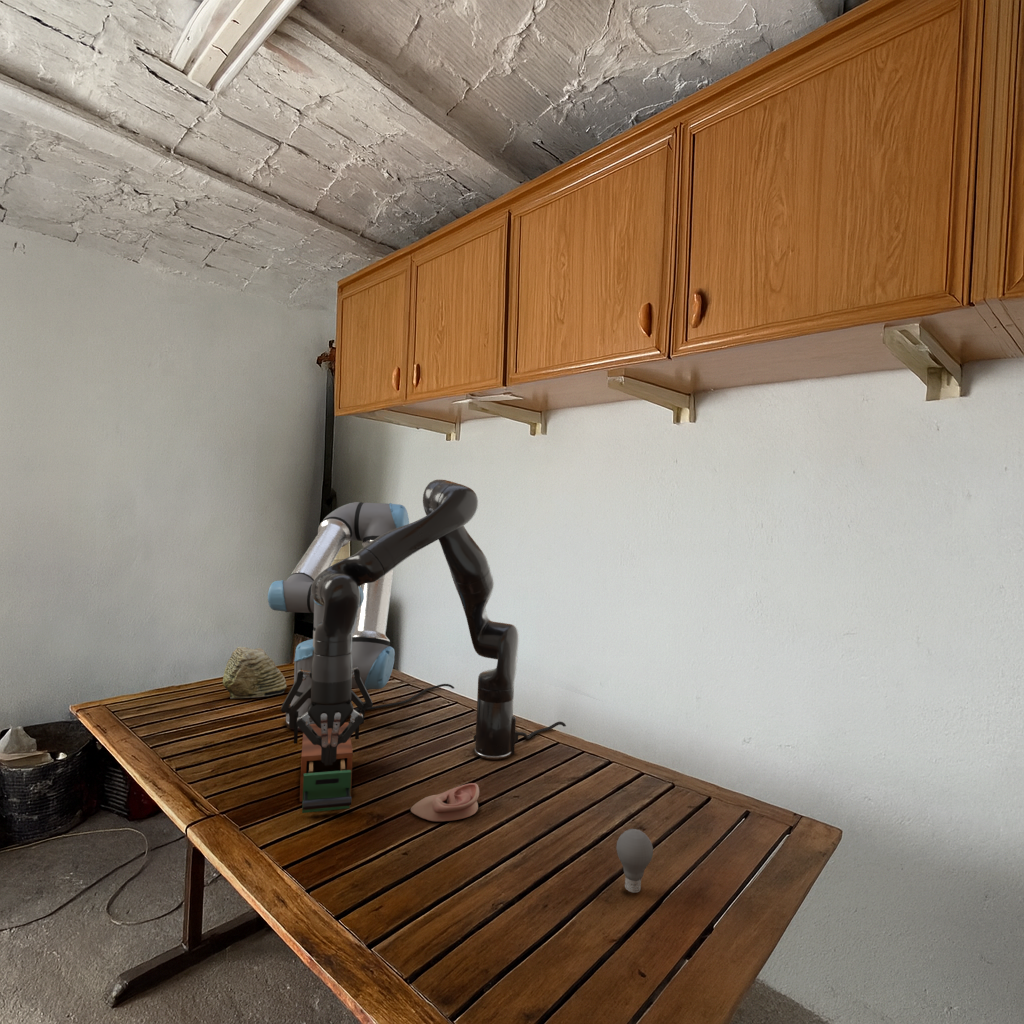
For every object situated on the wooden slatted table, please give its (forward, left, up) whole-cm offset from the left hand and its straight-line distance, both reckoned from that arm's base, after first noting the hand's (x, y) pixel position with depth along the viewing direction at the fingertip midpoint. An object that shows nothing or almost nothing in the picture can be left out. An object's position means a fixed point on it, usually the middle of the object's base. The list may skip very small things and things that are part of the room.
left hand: (326, 739), depth 147 cm
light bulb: (-7, +75, -7) cm, 76 cm away
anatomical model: (-6, +33, -7) cm, 35 cm away
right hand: (+14, +21, +5) cm, 26 cm away
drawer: (+9, +13, -6) cm, 17 cm away
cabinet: (+3, +5, -7) cm, 9 cm away
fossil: (-17, -61, -7) cm, 64 cm away
